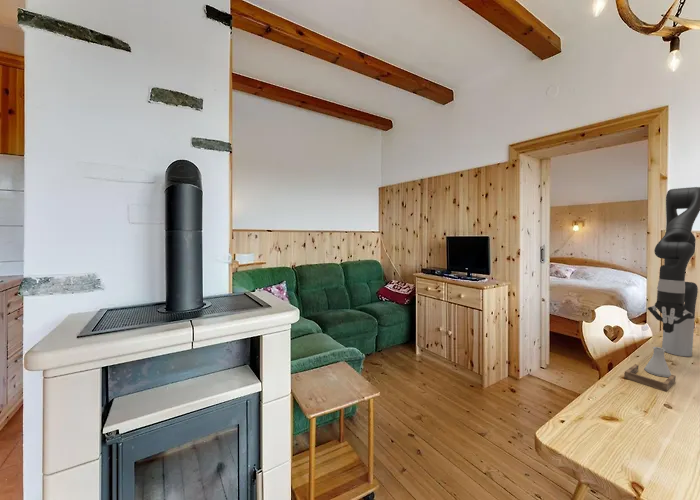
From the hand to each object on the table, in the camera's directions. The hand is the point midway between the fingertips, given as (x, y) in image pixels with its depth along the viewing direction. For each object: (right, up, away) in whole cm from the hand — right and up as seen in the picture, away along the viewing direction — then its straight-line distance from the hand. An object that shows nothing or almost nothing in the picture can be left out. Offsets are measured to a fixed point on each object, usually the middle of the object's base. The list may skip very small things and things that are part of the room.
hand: (667, 332), depth 119 cm
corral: (-19, -15, -11) cm, 26 cm away
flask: (-10, -15, -5) cm, 19 cm away
